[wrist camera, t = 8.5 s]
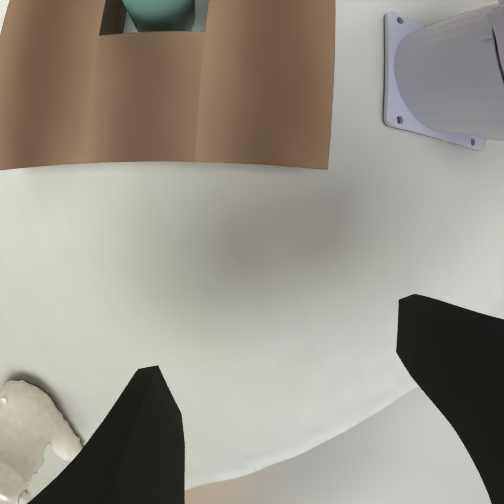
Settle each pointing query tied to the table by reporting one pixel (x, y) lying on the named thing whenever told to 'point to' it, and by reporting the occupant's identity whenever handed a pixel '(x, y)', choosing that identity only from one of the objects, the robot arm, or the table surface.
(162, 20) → the peg
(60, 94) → the socket block
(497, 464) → the robot arm
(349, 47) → the table surface
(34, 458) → the white creature statuette
